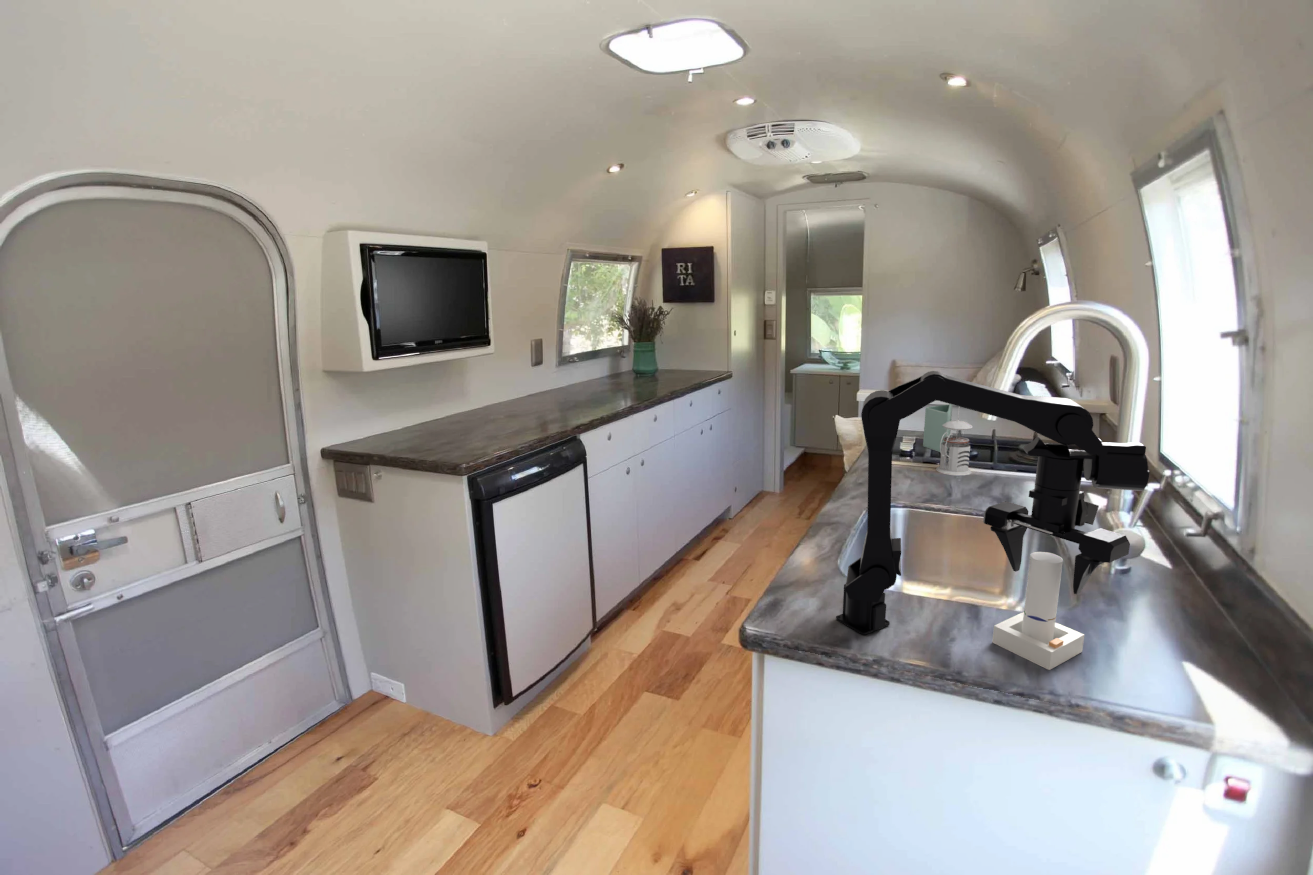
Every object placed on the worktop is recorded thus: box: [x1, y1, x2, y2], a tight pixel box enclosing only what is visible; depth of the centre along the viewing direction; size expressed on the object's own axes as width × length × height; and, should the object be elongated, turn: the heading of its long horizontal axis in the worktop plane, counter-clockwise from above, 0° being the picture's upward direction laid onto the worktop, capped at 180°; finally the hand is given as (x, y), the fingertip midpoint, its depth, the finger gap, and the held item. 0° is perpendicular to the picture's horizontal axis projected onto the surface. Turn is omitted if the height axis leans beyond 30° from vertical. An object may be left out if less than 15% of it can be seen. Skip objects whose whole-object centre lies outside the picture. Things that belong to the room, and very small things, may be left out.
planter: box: [922, 403, 954, 453], centre depth 219 cm, size 16×8×20 cm, turn 153°
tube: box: [1022, 551, 1064, 644], centre depth 101 cm, size 4×4×15 cm
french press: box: [935, 406, 973, 476], centre depth 191 cm, size 10×12×25 cm
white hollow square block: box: [991, 611, 1085, 671], centre depth 102 cm, size 9×9×4 cm
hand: (1045, 581), depth 100 cm, fingers open, 9 cm apart
